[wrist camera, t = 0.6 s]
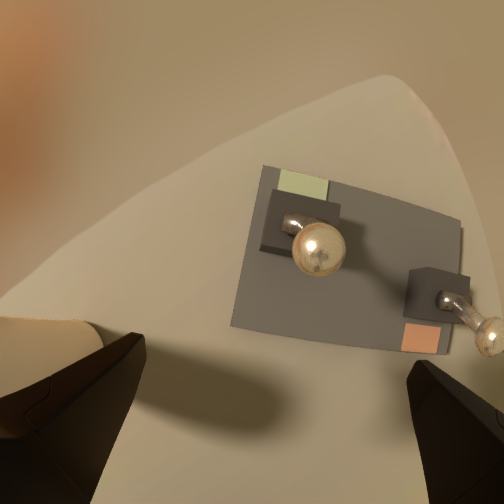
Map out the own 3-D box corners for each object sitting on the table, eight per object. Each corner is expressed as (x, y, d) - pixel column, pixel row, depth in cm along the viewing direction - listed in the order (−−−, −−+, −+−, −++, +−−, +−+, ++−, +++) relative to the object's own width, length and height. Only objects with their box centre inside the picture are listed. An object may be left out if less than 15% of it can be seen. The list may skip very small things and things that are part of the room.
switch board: (437, 352, 24) (465, 359, 20) (230, 324, 24) (228, 330, 19) (452, 224, 26) (479, 213, 22) (261, 172, 26) (266, 148, 21)
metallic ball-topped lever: (320, 247, 21) (346, 290, 14) (277, 238, 21) (284, 278, 13) (329, 210, 20) (362, 237, 13) (286, 200, 20) (297, 222, 13)
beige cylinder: (107, 307, 24) (-20, 312, 9) (121, 383, 23) (17, 456, 8) (47, 313, 23) (-77, 317, 8) (61, 383, 22) (-50, 431, 7)
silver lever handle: (456, 314, 20) (505, 364, 13) (430, 310, 20) (479, 364, 13) (467, 286, 20) (523, 329, 13) (442, 280, 20) (498, 326, 12)
